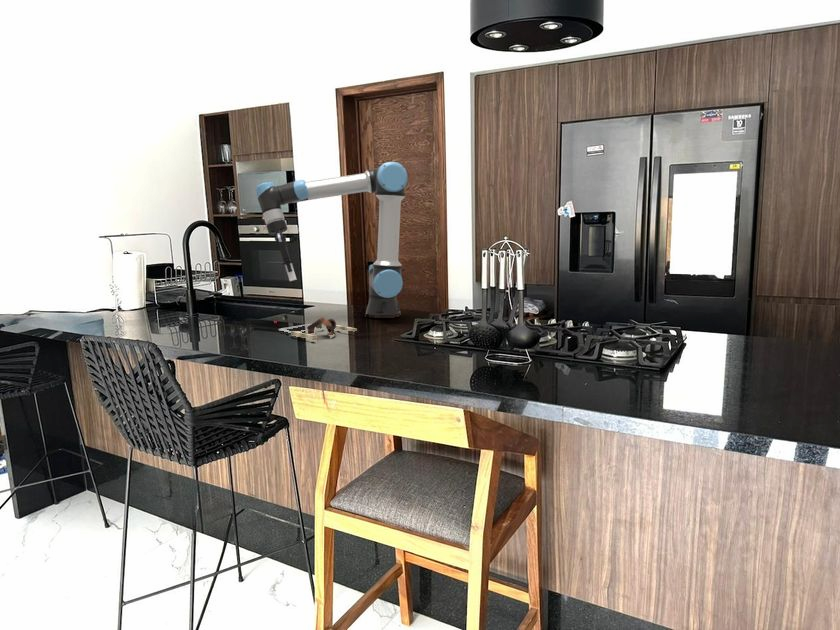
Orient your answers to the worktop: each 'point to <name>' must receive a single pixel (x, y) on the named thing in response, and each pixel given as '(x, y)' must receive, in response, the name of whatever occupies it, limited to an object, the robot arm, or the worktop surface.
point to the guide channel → (314, 337)
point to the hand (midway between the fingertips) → (293, 280)
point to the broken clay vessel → (329, 325)
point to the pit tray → (294, 327)
